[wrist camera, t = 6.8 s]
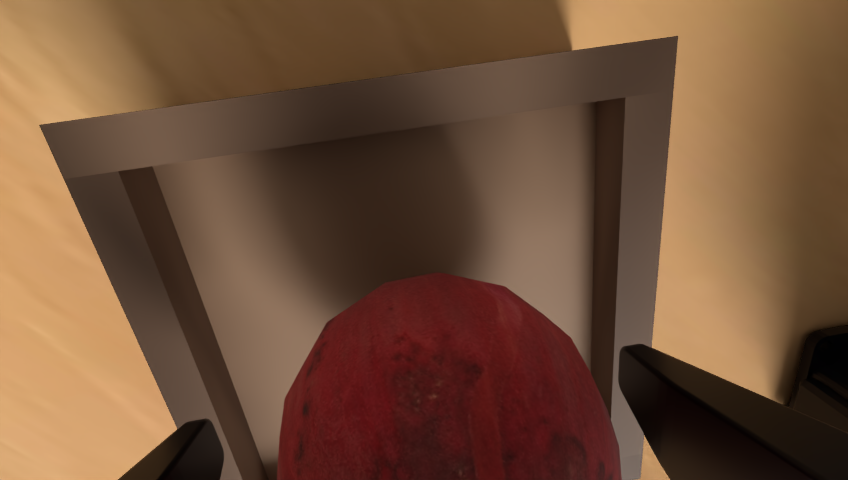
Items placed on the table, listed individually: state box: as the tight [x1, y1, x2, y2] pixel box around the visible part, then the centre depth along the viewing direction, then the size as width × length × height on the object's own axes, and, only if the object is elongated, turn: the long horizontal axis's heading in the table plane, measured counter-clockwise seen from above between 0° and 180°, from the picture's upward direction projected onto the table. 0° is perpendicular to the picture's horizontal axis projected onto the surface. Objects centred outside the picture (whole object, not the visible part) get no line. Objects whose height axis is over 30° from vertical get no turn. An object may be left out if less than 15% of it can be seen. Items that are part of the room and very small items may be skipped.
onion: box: [277, 272, 622, 480], centre depth 7 cm, size 6×6×8 cm
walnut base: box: [40, 36, 678, 480], centre depth 12 cm, size 12×12×5 cm
